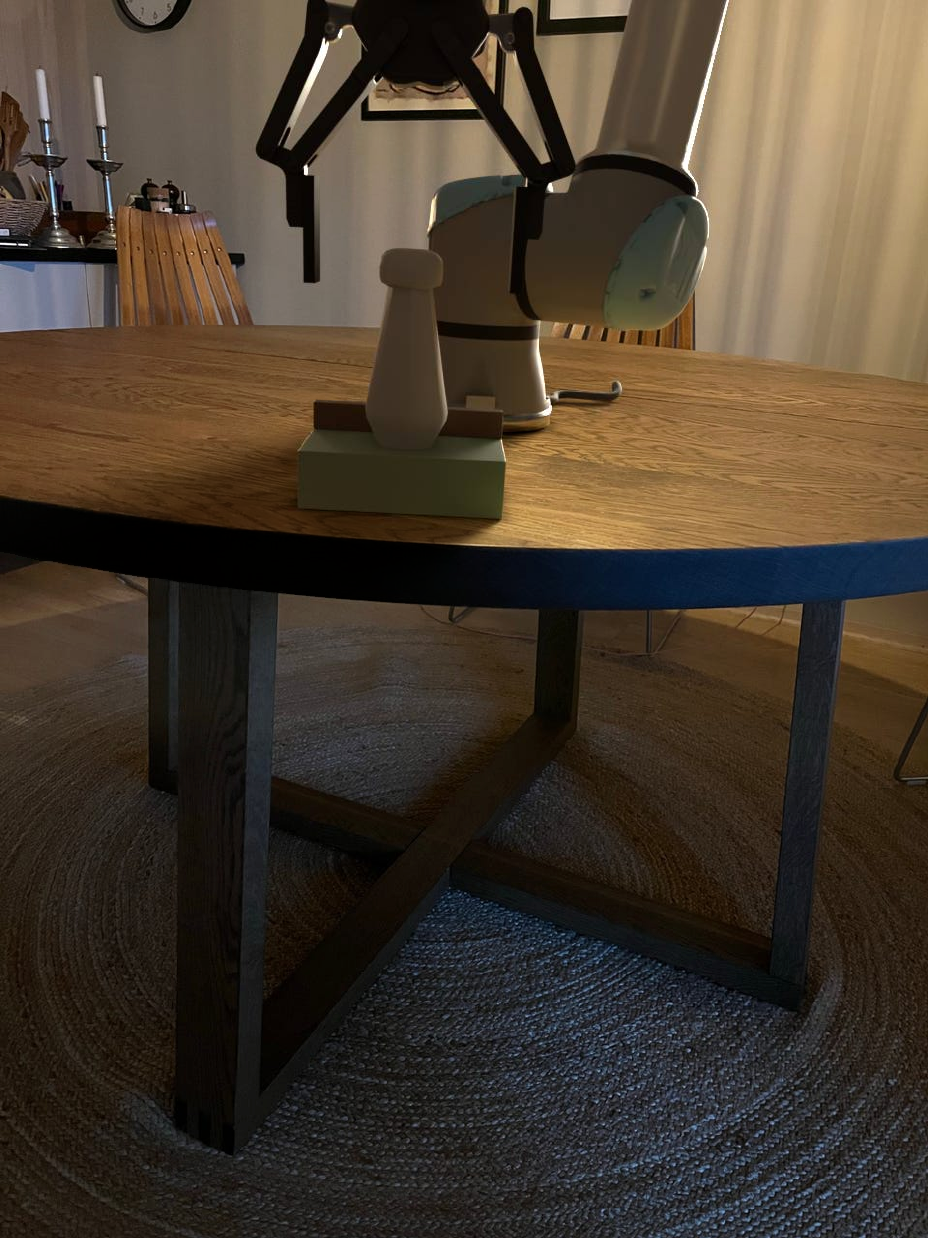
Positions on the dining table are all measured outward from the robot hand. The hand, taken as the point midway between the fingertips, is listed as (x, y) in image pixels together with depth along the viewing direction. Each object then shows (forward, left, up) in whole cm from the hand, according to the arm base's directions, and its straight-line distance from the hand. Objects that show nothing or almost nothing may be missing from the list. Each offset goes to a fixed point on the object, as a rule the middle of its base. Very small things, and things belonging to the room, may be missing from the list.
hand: (413, 287), depth 67 cm
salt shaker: (0, 0, -11) cm, 11 cm away
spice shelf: (0, 0, -15) cm, 15 cm away
